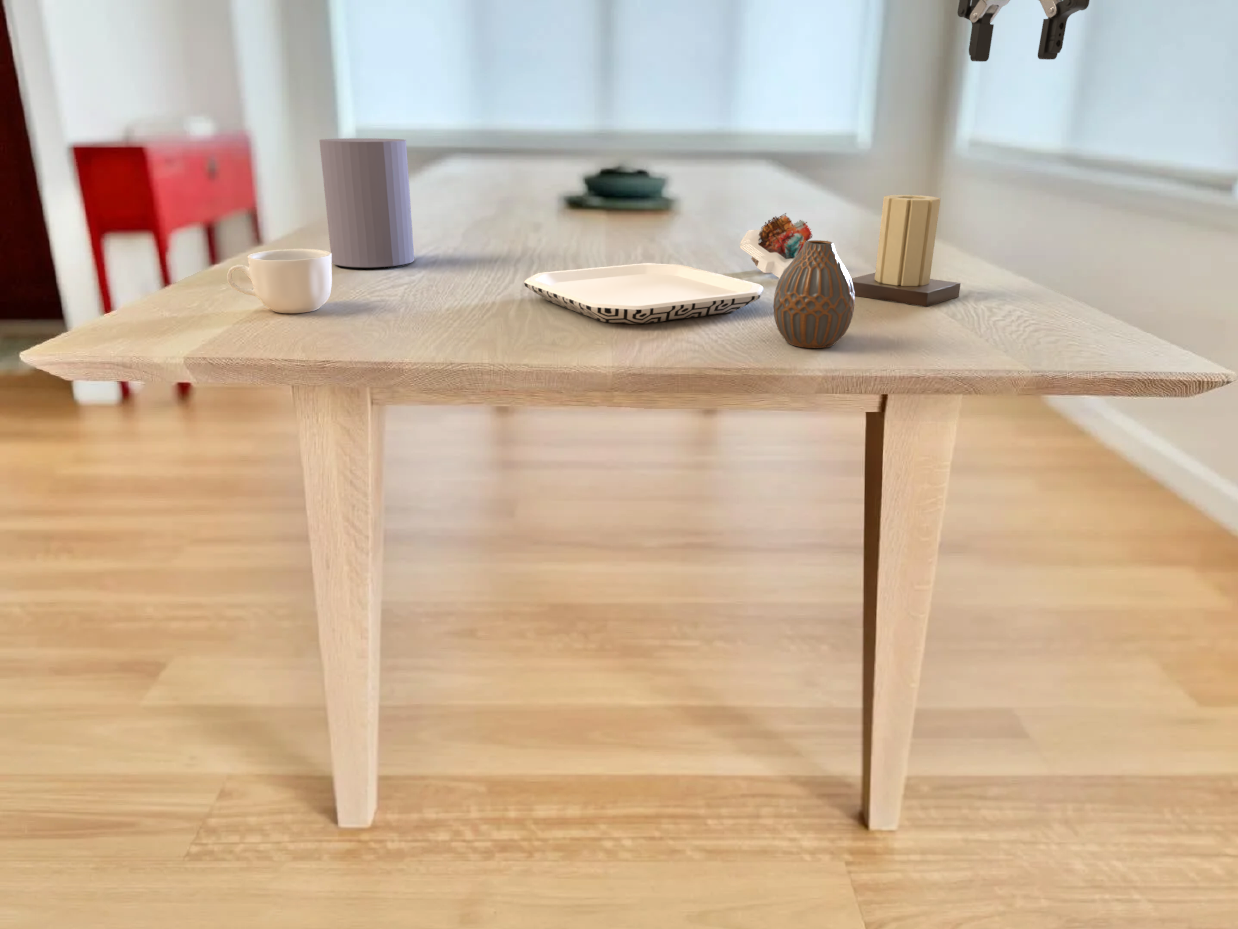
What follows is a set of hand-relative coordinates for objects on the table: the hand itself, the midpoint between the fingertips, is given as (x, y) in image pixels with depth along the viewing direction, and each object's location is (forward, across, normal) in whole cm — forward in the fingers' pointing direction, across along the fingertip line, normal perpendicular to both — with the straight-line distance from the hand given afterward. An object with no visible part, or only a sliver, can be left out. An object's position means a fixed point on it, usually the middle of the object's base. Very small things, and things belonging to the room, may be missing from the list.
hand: (1011, 60), depth 98 cm
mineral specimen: (+25, +19, +13) cm, 34 cm away
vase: (+24, -11, +35) cm, 44 cm away
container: (+25, +48, +57) cm, 78 cm away
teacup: (+24, +24, +72) cm, 80 cm away
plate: (+24, +10, +39) cm, 47 cm away
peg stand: (+24, +1, +11) cm, 27 cm away
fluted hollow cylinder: (+23, +1, +11) cm, 25 cm away
